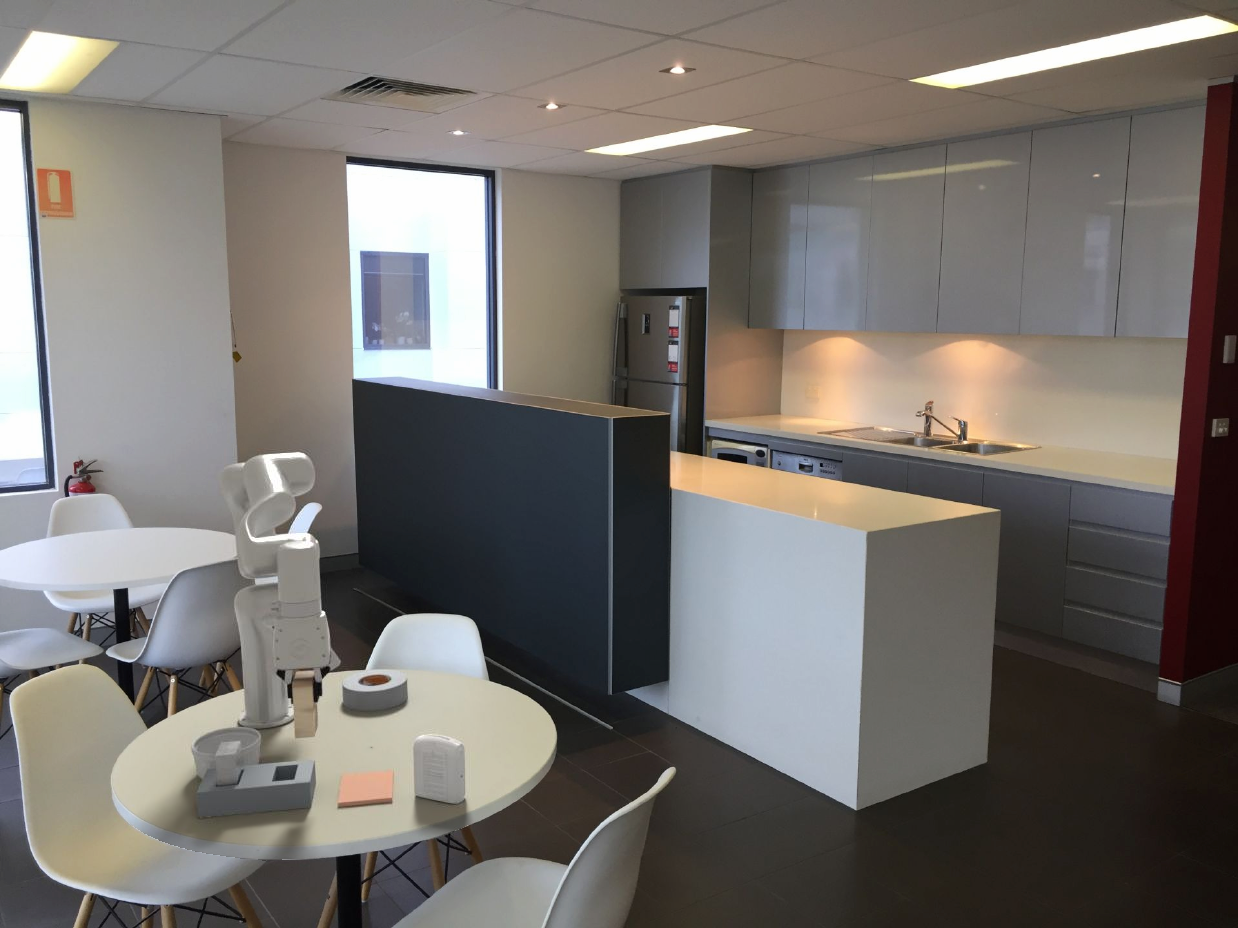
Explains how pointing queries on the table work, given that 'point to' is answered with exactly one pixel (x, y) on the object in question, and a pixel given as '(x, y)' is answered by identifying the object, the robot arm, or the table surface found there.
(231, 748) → the steel plug
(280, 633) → the robot arm
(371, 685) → the tape roll
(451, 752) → the photo printer
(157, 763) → the table surface
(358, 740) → the table surface
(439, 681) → the table surface
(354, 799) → the mat
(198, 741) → the ramekin
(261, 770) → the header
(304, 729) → the beech plug
